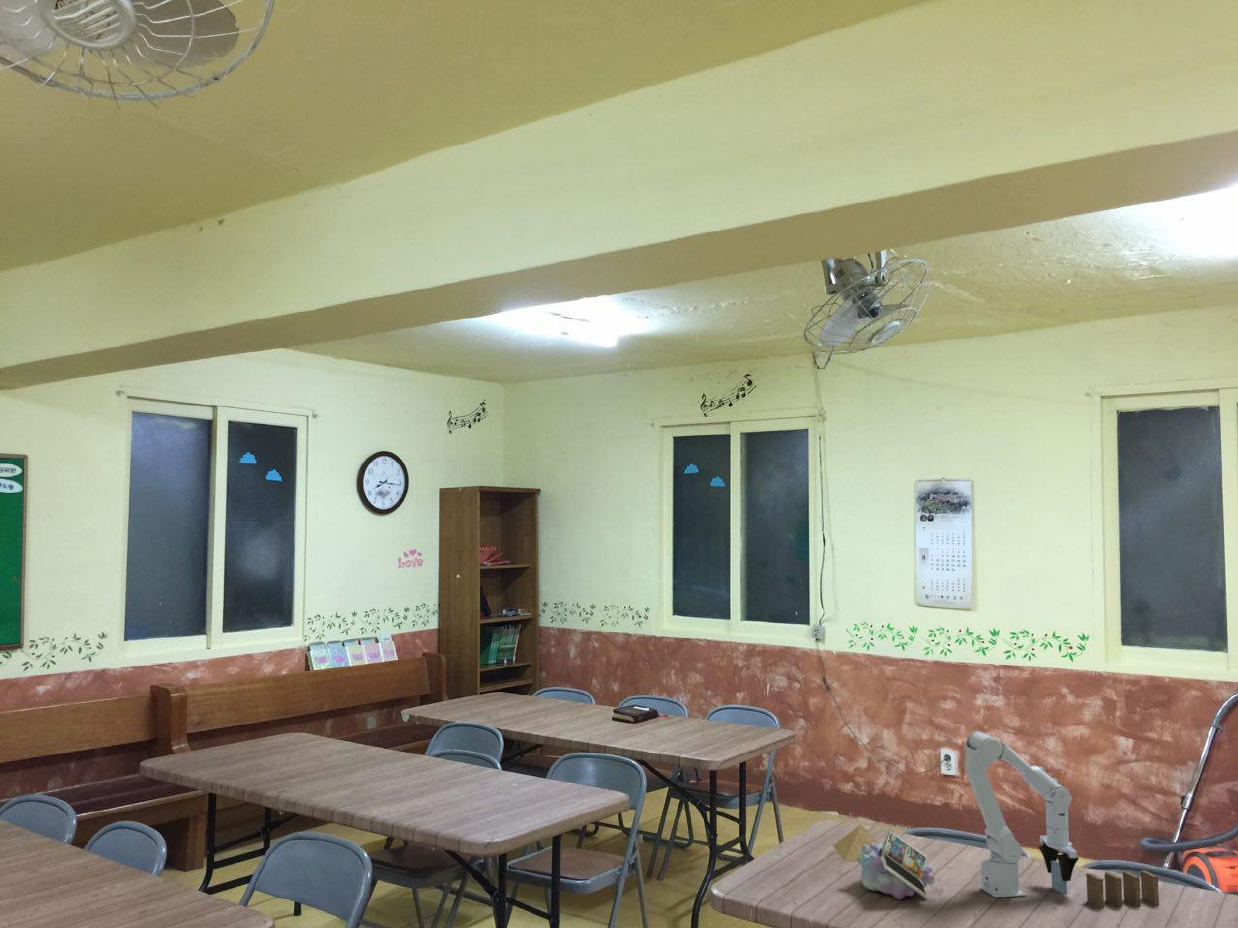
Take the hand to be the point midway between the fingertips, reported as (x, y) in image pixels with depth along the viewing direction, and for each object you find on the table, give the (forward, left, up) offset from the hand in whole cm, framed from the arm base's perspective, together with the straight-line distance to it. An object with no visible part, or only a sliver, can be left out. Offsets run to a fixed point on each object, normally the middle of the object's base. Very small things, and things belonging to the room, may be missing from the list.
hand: (1058, 876), depth 272 cm
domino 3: (+9, -11, -4) cm, 15 cm away
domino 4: (+14, -11, -4) cm, 19 cm away
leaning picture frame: (-46, +6, -4) cm, 47 cm away
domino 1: (0, 0, -4) cm, 4 cm away
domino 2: (+3, -11, -4) cm, 12 cm away
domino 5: (+20, -11, -4) cm, 23 cm away
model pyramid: (-43, +38, -5) cm, 58 cm away
